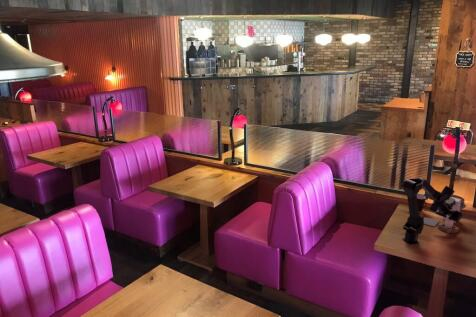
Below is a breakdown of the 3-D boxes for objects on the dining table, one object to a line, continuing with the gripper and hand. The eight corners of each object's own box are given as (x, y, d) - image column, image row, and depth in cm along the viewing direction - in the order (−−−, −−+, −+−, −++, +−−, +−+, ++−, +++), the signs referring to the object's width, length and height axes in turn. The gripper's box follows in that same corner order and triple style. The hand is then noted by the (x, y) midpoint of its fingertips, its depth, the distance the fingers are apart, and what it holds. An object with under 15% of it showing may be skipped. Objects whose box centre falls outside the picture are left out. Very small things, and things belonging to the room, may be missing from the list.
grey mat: (434, 227, 249) (434, 226, 248) (419, 222, 254) (419, 222, 254) (439, 221, 257) (439, 220, 256) (424, 217, 262) (424, 216, 262)
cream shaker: (447, 231, 243) (450, 215, 240) (442, 228, 247) (444, 212, 244) (453, 230, 244) (456, 214, 241) (447, 227, 248) (450, 211, 245)
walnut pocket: (448, 233, 241) (448, 230, 240) (437, 227, 248) (438, 224, 247) (458, 231, 243) (459, 228, 242) (447, 226, 250) (448, 222, 250)
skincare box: (458, 220, 259) (462, 199, 254) (455, 223, 255) (459, 201, 250) (444, 216, 264) (448, 195, 260) (441, 219, 260) (445, 198, 256)
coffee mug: (409, 206, 279) (411, 193, 276) (422, 208, 277) (424, 194, 275) (412, 213, 268) (414, 199, 265) (426, 214, 266) (428, 201, 264)
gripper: (464, 200, 229) (472, 214, 237) (435, 189, 245) (444, 203, 253) (453, 215, 227) (461, 228, 236) (425, 203, 243) (434, 216, 251)
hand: (450, 218), depth 244 cm, fingers closed on cream shaker, 4 cm apart
